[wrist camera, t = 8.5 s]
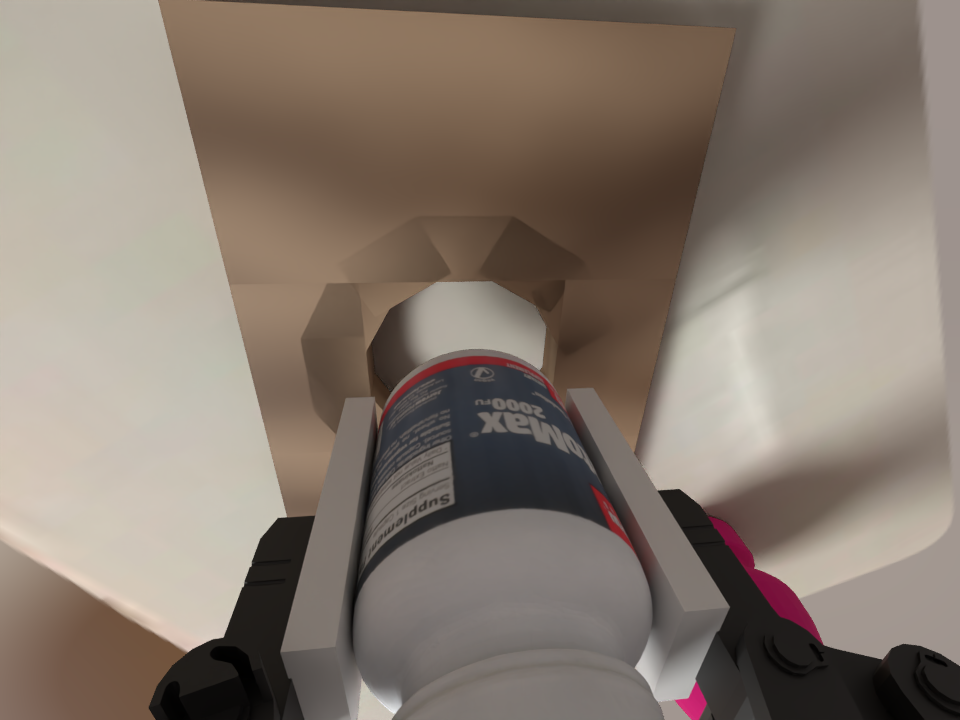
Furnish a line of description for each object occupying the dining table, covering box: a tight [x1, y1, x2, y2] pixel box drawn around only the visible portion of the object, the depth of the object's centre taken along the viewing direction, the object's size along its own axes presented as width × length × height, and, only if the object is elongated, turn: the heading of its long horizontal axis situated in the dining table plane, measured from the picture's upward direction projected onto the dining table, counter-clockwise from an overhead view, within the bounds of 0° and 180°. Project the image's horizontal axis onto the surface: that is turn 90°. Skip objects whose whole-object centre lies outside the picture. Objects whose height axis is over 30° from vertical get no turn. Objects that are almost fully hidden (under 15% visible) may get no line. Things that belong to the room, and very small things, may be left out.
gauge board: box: [158, 0, 736, 517], centre depth 17 cm, size 20×14×2 cm
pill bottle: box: [353, 349, 664, 720], centre depth 9 cm, size 5×5×9 cm
